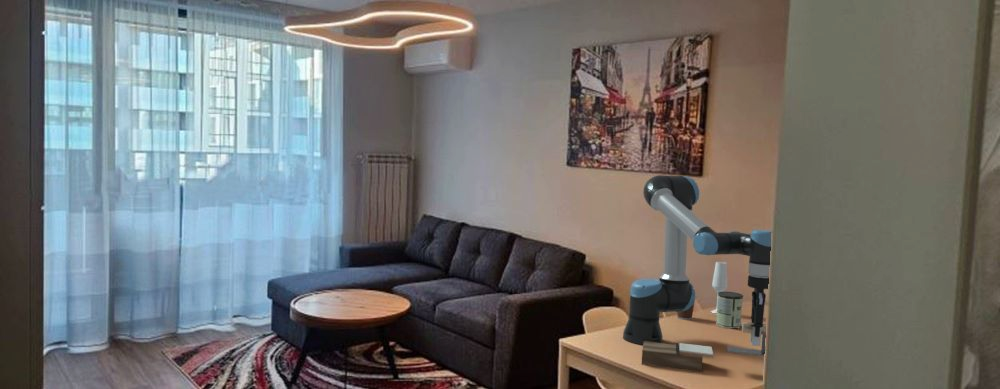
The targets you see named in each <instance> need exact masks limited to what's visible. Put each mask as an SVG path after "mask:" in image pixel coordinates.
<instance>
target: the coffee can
mask: <svg viewBox="0 0 1000 389" xmlns="http://www.w3.org/2000/svg"><path fill="white" fill-rule="evenodd" d="M717 296H718V306H717V305H716V309H717V314H716V323H715V324H717V325H718V326H717V325H716V326H717V327H720V326H721V328H723V327H725V328H724V329H729V328H738V329H740V328H742V324H741V323H742V311H743V310H742V309H743V298H744V294H742V293H739V292H735V291H723V292H717Z"/></svg>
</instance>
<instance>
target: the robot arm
mask: <svg viewBox="0 0 1000 389" xmlns="http://www.w3.org/2000/svg"><path fill="white" fill-rule="evenodd" d="M643 198H644V200H645V202H646V203H647V205H649V207H651V208H652V209H653V210H654V211H657V212H660V213H662V214H663V215H664V217H665V226H664V227H665V228H664V229H665V230H664V248H663V249H664V253H663V254H664V255H663V273H662V274H661V275H660V276H658V277H659V279H656V278H642V279H641V278H640V279H637V280H635V281H632V284H631V286H630V291H629V295H630V297H629V298H630V299H629V307H628V308H629V309H628V310H629V311H628V318H627V319H628V320H627V322H626V324H625V327H624V328H623V333H622V334H623V335H622V338H623V340H625V341H627V342H629V343H633V344H639V345H643V343H644V341H648V342H657V343H663V339H664V338H663V332H662V328H661V325H660V313H672V312H673V313H674V312H675V313H677V312H680V311H685V310H688V309H689V308H690V307H691V306H692V305H693V303H694V304H695V302H694V300H696V299H695V296H696V291H695V290H696V289H695V288H694V286H693V284H692V283H690V278H689V276H687V273H686V272H687V249H688V248H687V247H688V245H687V244H688V238H689V239H690V240H691V241H692V247H693V248H694V251H695V252H696V253H697V254H698V255H702V256H715V255H717V256H718V255H743V256H747V257H749V261H748V270H747V273H748V274H749V275H748V277H747V286H748V287H749V288H752V289H754V291H751V296H752V298H751V299H752V300H751V315H750V316H751V317H750V320H751V321H750V322H751V323H754V324H753V325H751V327H753V331H752V333H750V339H749V340H750V341H749V342H750V343H751V346H754V347H761V344H762V334H761V329H762V327H763V324H764V315H765V314H764V313H765V304H766V298H767V297H766V295H767V294H765V290H769V289H768V284H769V267H770V251H771V233H772V232H773V231H771V230H767V229H766V230H765V229H752V230H751V233H746V232H745V233H744V232H740V231H732V230H731V231H727V232H717V231H715V230H714V229H712V228H711V227H710V226H709V225H708V224H707V223H705V221H704V220H702V219H701V218H700V217H698V216H697V215H696V214H695V213H694V212H693V206H694V205H696V204H697V202H698V201H699V199H700V188H699V185H698V184H697V182H696V181H695V180H694V179H693V177H689V176H684V175H663V174H661V175H654V176H652V177H650V178H649V179H648V180H647V181H646V182H645V184H644V187H643Z"/></svg>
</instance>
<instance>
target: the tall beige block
mask: <svg viewBox="0 0 1000 389" xmlns="http://www.w3.org/2000/svg"><path fill="white" fill-rule="evenodd" d="M741 323H742V324H741V332H742V333H744V334H751V333H752V331H753V327H751V325H753V324H754V323H752V322H751V321H750V322H748V321H741ZM766 324H767V323H763V327H762V329H761V349H755V348H746V347H745V348H744V347H736V346H728V345H727V346H726V349H727V352H728V353H731V354H733V353H734V354H741V355H752V356H760V357H765V356H764V354H765V351H766V346H765V338H766V339H767V335H766Z"/></svg>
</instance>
